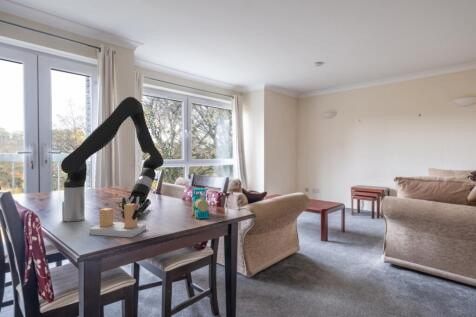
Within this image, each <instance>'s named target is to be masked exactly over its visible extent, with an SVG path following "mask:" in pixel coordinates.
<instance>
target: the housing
mask: <svg viewBox="0 0 476 317" xmlns="http://www.w3.org/2000/svg"><path fill="white" fill-rule="evenodd" d="M146 229H147V224H146V223H138V222H137V226H136V227H134V228H124V222H120V221H113V226H110V227H100V223H99V224H98V225H95V226H93V227H90V228H89V235H93V236H96V235H97V236H106V237H107V236H110V237H121V238H133V237H135V236H136V235H139V234H140V233H142V232H144V231H145V230H146Z"/></svg>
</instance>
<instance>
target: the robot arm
mask: <svg viewBox="0 0 476 317" xmlns="http://www.w3.org/2000/svg"><path fill="white" fill-rule="evenodd" d="M129 117H130V119H131V121H132V123H133V125H134V128H135V133H136V138H137V141H138V143H139V148H140V150H141V152H142V153H143V154H148V155H149V156H148V157H147V158H145V160H144V161H143V164H142V167H141V168H142V169H141V173H140V174H139V177H138V179H137V180H136V181H135V184H134V186H133V187H132V190H131V193H130V195H129V196H128V197H122V200H121V202H122V207H120V208H121V209H122V210H123V212H122V216H121V217H122V219H123V220H124V219H125V215H124V205H126V204H129V203H134V204H137V207H136V210H135V212H134V214H133V216H132V219H133V220H135V219H136V218H137V219H138V216H139V215H138V214H139V213H140V212H141V213H144V212H145V211H146V210H147V209H148V207H149V206H150V205H151V204H152V202H151V200H150V199H149V198H148V196H149V194H150V192H151V190H152V187H153V183H154V180H155V178H156V176H157V174H156V171H155V170H157V169H159V168H161V167H162V166H163V165H164V157H163V155H162V154H161V152H160V151H159V150H158V148H157V147H156V145H155V143H154V140H153V137H152V135H151V132H150V130H149V127H148V124H147V121H146V118H145V113H144V107H143V104H142V103H141V101H139V99H137V98H135V97H134V96H126V97H124V98H123V99H122V100H121V101H120V102H119V103H118V105H116V107H115V108H114V110H113V111H112V112H111V113H110V114H109V116H107V117H106V118H105V119H104V120H103V121H102V122H101V123H100V124H99V125H98V126H97V127H96V128H95V129H94V130H93V131H91V133H90V134H89V135H88V136H87V137H86V138H85V139H84V140H83V141H82V143H80V145H79V146H78V147H76V149H74V150H72V151H71V152H70V153H69V154H68V155H67V156H66V157H64V158H63V160H62V161H61V163H60V164H61V165H60V168H61V170H62V172H63V173H65V174H66V176H67V177H66V179H65V180H64V183H63V201H62V202H61V206H62V207H61V212H62V214H61V218H62V219H61V220H62V221H64V222H69V223H70V222H71V223H72V222H78V221H79V222H80V221H83V220H85V217H86V216H85V212H86V211H85V210H86V209H85V208H86V207H85V206H86V205H85V204H86V203H85V202H86V201H85V200H86V199H85V197H86V196H85V194H86V192H85V189H86V188H85V186H86V184H85V183H86V180H87V170H88V169H87V168H88V167H87V165H88V164H87V161H88V159H89V158H91V156H93V155H94V154H97V153H98V152H99V151H101V150H102V149H104V148H105V147H106V146H108V144H109V143H111V141H112V140H113V139H114V138H115V137H116V135H117V134H118V131H119V129H120V128H121V125H123V124H124V122H125V121H126V120H127V119H128V118H129ZM146 198H147V199H146ZM128 201H129V202H128ZM143 203H144V204H143ZM142 204H143V205H142Z"/></svg>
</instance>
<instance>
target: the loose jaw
mask: <svg viewBox="0 0 476 317" xmlns="http://www.w3.org/2000/svg"><path fill="white" fill-rule="evenodd" d="M136 207H137V204H134V203H129V204H126V205H124V210H123V212H124V215H125V219H123V220H124V222H123V223H124V228H134V227H136V226H137V223H138V217H137V218H136V219H135V220H133V219H132V216H133V214H134V212H135V210H136Z"/></svg>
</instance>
